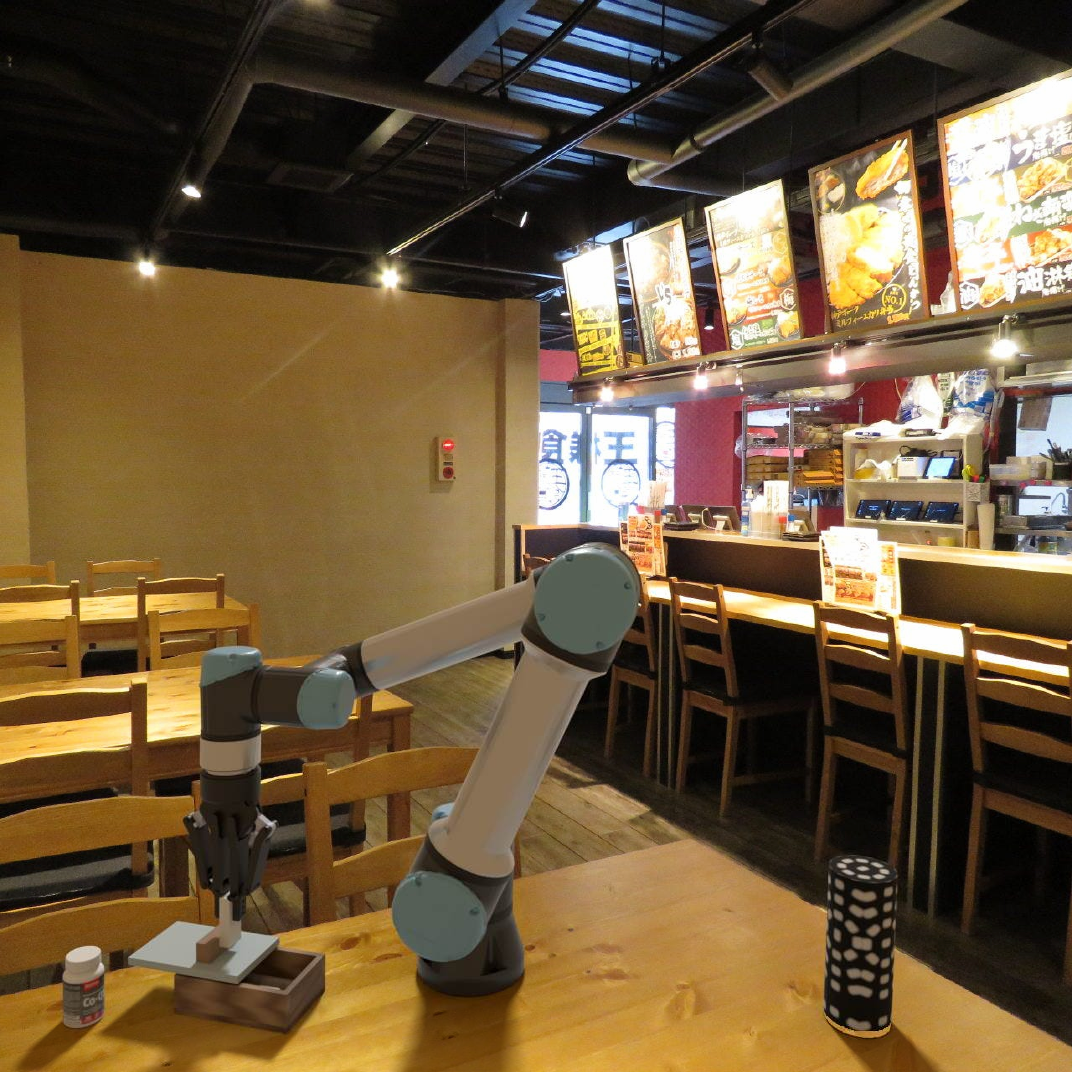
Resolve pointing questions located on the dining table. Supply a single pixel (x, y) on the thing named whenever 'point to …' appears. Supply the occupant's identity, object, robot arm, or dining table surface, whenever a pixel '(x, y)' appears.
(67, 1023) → the pill bottle
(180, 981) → the wooden box
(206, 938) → the lid
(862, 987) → the white-spotted black cylinder
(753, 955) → the dining table surface
